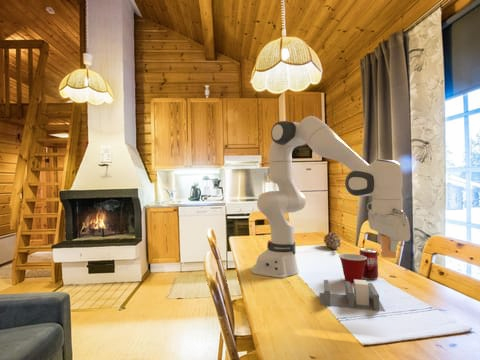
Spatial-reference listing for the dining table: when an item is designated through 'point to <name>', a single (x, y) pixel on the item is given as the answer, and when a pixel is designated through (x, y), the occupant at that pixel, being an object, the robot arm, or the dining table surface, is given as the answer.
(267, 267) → the robot arm
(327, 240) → the pine cone
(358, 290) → the cream rectangular block
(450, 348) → the dining table surface
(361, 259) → the plastic cup
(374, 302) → the grey slotted rack
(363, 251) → the soda can
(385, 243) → the orange block
